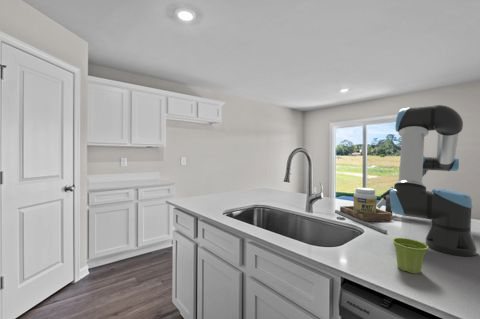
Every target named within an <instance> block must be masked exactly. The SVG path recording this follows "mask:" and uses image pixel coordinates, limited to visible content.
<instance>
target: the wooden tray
mask: <svg viewBox="0 0 480 319" xmlns="http://www.w3.org/2000/svg"><path fill="white" fill-rule="evenodd" d="M385 201H386V202H385V210H383V209H381V208H380V209H379V208H378V207H376V213H369V214H361V213H359V212H356V211H353V205H341V206H339V207H340V208H339V211H341V212H343V213H346V214H348V215H351V216H353V217H356V218H358V219H360V220H363V221H365V222H380V221H381V222H382V221H384V222H385V221H392V220H393V219H392V218H393V212H392V210H391V203H390V195H386V200H385Z"/></svg>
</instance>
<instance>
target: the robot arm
mask: <svg viewBox="0 0 480 319" xmlns="http://www.w3.org/2000/svg"><path fill="white" fill-rule="evenodd" d="M463 124H464V122H463V119H462V117H461V115H460V114H459V112H457V111H456V110H455V109H453V108H452V107H450V106H447V105H442V104H437V105H426V106H425V105H424V106H418V107H417V106H415V107H405V108H401V109H400V110H399V111H398V113H397V116H396V120H395V131H396V133H398V135H399V136H400V137H401V147H400V160H399V170H398V171H399V172H398V181H396V182H395V183H394V185H393V186H391V187H390V189H388V190H387V191H385V192H384V193H383V194H381V195H380V200H379V201H378V202H377V203H376V208H377V209H380V210H381V207H383V205H384V204H386V195H390V203H391V210H392V214H395V215H399V216H403V217H410V218H411V217H412V218H419V219H423V220H424V219H425V220H430V221H431V226H430V228H429V231H428V232H427V235H426V237H425V244H426V245H427V246H428V247H429V248H431V249H433V250H435V251H439V252H441V253H445V254H449V255H455V256H459V257H475V256H476V255H477V246H476V244H475V242H474V238H473V236H472V233H471V232H472V231H471V228H472V209H473V205H472V198H471V196H470V195H469V194H466V193H464V192H459V191H455V190H450V189H446V188H445V189H444V188H437V187H435V188H433V189H432V190H431V191H429V190H428V191H427V186H426V185H424V184H423V177H424V176H425V175H427V172H428V171H440V172H441V171H442V172H457V171H458V170H459V166H460V159H459V158H458V157H456V153H457V147H458V139H459V134H460V133H461V132H462V130H463V127H464V125H463ZM430 131H436V133H437V146H436V156H435V157H430V156H429V157H428V156H426V157H425V155H424V150H425V148H424V147H425V144H424V143H425V137H426V136H428V135H429V132H430Z"/></svg>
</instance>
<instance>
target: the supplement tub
mask: <svg viewBox="0 0 480 319" xmlns="http://www.w3.org/2000/svg"><path fill="white" fill-rule="evenodd" d="M377 198H378V197H377V194H376V189H374V188H369V187H355V192H354V193H353V205H352V206H353V211H356V212H359V213H361V214H369V213H376V208H377V206H376V205H377V203H378V201H377V200H378V199H377Z"/></svg>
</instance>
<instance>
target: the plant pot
mask: <svg viewBox="0 0 480 319" xmlns="http://www.w3.org/2000/svg"><path fill="white" fill-rule="evenodd" d="M392 242H393V245H394V248H395V255H396V256H395V257H396V266H397V267H398V268H399V270H401V271H404V272H405V271H406V272H408V273H409V274H420V273H421V272H422V267H423V263H424V258H425V254H426V253H427V251H428V249H429V248H430V247H429V246H427V245H426V243H424V242H421V241H418V240H416V239H410V238H407V237H394V238H393V239H392Z"/></svg>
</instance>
